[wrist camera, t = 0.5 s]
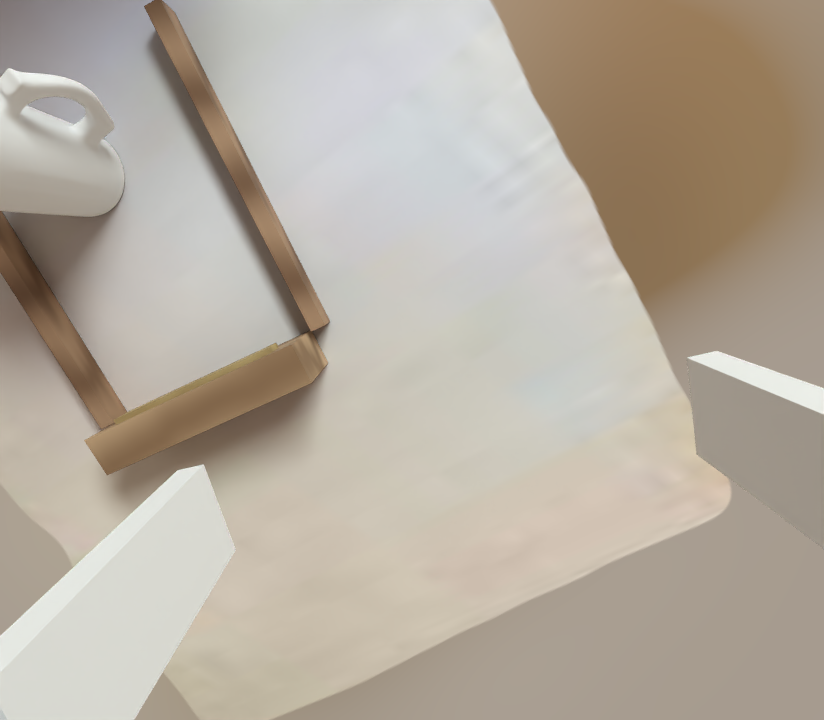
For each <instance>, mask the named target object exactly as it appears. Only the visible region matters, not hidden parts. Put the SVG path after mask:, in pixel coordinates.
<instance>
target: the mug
mask: <svg viewBox="0 0 824 720" xmlns="http://www.w3.org/2000/svg"><path fill="white" fill-rule="evenodd" d="M46 97H65V98H69V99H72V100H74V101H76V102H78V103H79V104H81V105H82V106H83V107H84V108H85V115H84V117H83V118H82V119H81V120H80V121H78V122H77V123H76V124H72V123H70V122H67V121H65V120H62V119H60V118H57V117H54V116H52V115H49V114H47V113H44V112H42V111H39V110H37V109H34V108H32V107H29V106H27V105H28V104H29V103H31V102H32V101H35V100H38V99H41V98H46ZM113 129H114V122H113V120H112V119H111V117H110V116H109V114H108V113H107V111H106V109H105V108H104V106H103V105H102V103H101V102H100V100H99V99H98V98H97V96H96V95H95V94H94V93H93V92H92V91H91V90H90V89H88V88H87V87H86V86H84V85H83V84H81V83H79V82H77V81H74V80H72V79H69V78H65V77H61V76H56V75H50V74H41V73H27V72H20V71H16V70H13V69H11V68H8V69H7V70H6V71H5V73H4V74H3V75H2V76H1V77H0V211H7V212H22V213H36V214H49V215H64V216H82V217H94V216H99V215H102V214H105V213H107V212H108V211H110V210H111V209H112V208H114V207H115V205H116V204H117V203H118V202H119V200H120V198H121V196H122V193H123V190H124V183H125V177H124V170H123V166H122V163H121V160H120V158H119V156H118V155H117V153H116V151H115V150H114V149H113V147H112V146H111V145H110V144H109V143H108V142H107V141H106V140H104V139H103V138H104V137H105V136H106V135H107V134H109V133H110V132H111V131H112V130H113Z"/></svg>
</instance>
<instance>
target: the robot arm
mask: <svg viewBox="0 0 824 720" xmlns="http://www.w3.org/2000/svg"><path fill="white" fill-rule="evenodd" d="M687 366H688V376H689V385H690V395H691V405H692V414H693V424H694V433H695V443H696V453H697V455H698V456H699V457H701V458H702V459H703V460H705V461H706V462H708V463H709V464H710V465H712V466H713V467H714V468H716V469H717V470H718V471H720V472H721V473H722V474H724V475H725V476H726V477H728V478H729V479H730V480H732V481H733V482H734V483H736V484H737V485H738V486H740V487H741V488H742V489H744V490H745V491H747V492H748V493H749V494H751V495H752V496H753V497H754V498H756V499H757V500H758V501H760V502H761V503H763V504H764V505H765V506H767V507H768V508H769V509H770V510H772V511H773V512H775V513H776V514H777V515H779V516H780V517H781V518H783V519H784V520H785V521H787V522H788V523H789V524H791V525H792V526H793V527H795V528H796V529H797V530H799V531H800V532H801V533H803V534H804V535H805V536H807V537H808V538H809V539H811V540H812V541H813V542H815V543H816V544H818V545H819V546H820V547H822V548H823V549H824V388H821V387H818V386H815V385H813V384H810V383H807V382H804V381H801V380H798V379H795V378H792V377H790V376H787V375H784V374H781V373H778V372H775V371H773V370H770V369H767V368H764V367H761V366H758V365H755V364H753V363H750V362H747V361H744V360H741V359H738V358H736V357H733V356H730V355H727V354H724V353H721V352H718V351H715V352H710V353H706V354H701V355H697V356H692V357H688V358H687ZM235 550H236V549H235V547H234V544H233V541H232V539H231V536H230V533H229V531H228V528H227V525H226V522H225V520H224V517H223V514H222V512H221V509H220V506H219V504H218V501H217V498H216V496H215V493H214V490H213V488H212V485H211V482H210V480H209V477H208V474H207V472H206V469H205V466H204V464H203V465H199V466H194V467H190V468H185V469H181V470H177V471H176V472H175V473H174V474H173V475H172V476H171V477H170V478H169V479H168V480H167V481H166V482H164V483H163V484H162V485H161V486H160V487H159V488H158V489H157V490H156V491H155V492H154V493H153V494H152V495H151V496H149V497H148V498H147V499H146V500H145V501H144V502H143V503H142V504H141V505H140V506H139V507H138V508H137V509H136V510H134V511H133V512H132V513H131V514H130V515H129V516H128V517H127V518H126V519H125V520H124V521H123V522H122V523H121V524H119V525H118V526H117V527H116V528H115V529H114V530H113V531H112V532H111V533H110V534H109V535H108V536H107V537H106V538H105V539H103V540H102V541H101V542H100V543H99V544H98V545H97V546H96V547H95V548H94V549H93V550H92V551H91V552H90V553H88V554H87V555H86V556H85V557H84V558H83V559H82V560H81V561H80V562H79V563H78V564H77V565H76V566H75V567H73V568H72V569H71V570H70V571H69V572H68V573H67V574H66V575H65V576H64V577H63V578H62V579H61V580H60V581H59V582H58V583H56V584H55V585H54V586H53V587H52V588H51V589H50V590H49V591H48V592H47V593H46V594H45V595H43V597H42V598H40V599H39V600H38V601H37V602H36V603H35V604H34V605H33V606H32V607H31V608H30V609H29V610H27V611H26V612H25V613H24V614H23V615H22V616H21V617H20V618H19V619H18V620H17V621H16V622H15V623H14V624H12V625H11V626H10V627H9V628H8V629H7V630H6V631H5V632H4V633H3V634H2V635H1V636H0V720H134V719H135V717H136V716H137V714H138V712H139V711H140V709H141V707H142V706H143V704H144V702H145V701H146V699H147V697H148V696H149V694H150V692H151V690H152V689H153V687H154V686H155V684H156V682H157V681H158V679H159V677H160V676H161V674H162V672H163V671H164V669H165V667H166V666H167V664H168V662H169V661H170V659H171V657H172V656H173V654H174V652H175V651H176V649H177V647H178V646H179V644H180V642H181V641H182V639H183V637H184V636H185V634H186V632H187V631H188V629H189V627H190V626H191V624H192V622H193V621H194V619H195V617H196V616H197V614H198V612H199V611H200V609H201V607H202V605H203V604H204V602H205V600H206V599H207V597H208V595H209V594H210V592H211V590H212V589H213V587H214V585H215V584H216V582H217V580H218V579H219V577H220V575H221V574H222V572H223V570H224V569H225V567H226V565H227V564H228V562H229V560H230V559H231V557H232V555H233V554H234V552H235Z"/></svg>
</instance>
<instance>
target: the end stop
mask: <svg viewBox="0 0 824 720" xmlns="http://www.w3.org/2000/svg"><path fill="white" fill-rule="evenodd" d="M327 364H328V362H327V360H326V358H325V356H324V354H323V352H322V350H321V348H320V346H319V344H318V342H317V340H316V338H315V336H314V334H313V332H312V331H311V330H310V331H308V332H306V333H304V334H302V335H300V336H297V337H295V338H293V339H291V340H289V341H287V342H284V343H282V344H280V345H277V344H276V343H275V344H273V345H270V346H268V347H266V348H264V349H262V350H260V351H257V352H255V353H253V354H251V355H249V356H247V357H245V358H242V359H240V360H238V361H236V362H234V363H232V364H230V365H227V366H225V367H223V368H221V369H219V370H217V371H215V372H212V373H210V374H208V375H206V376H204V377H202V378H200V379H197V380H195V381H193V382H191V383H189V384H187V385H185V386H182V387H180V388H178V389H176V390H174V391H172V392H170V393H167V394H165V395H163V396H161V397H159V398H157V399H154V400H152V401H150V402H148V403H146V404H144V405H142V406H139V407H137V408H135V409H133V410H131V411H129V412H127V413H125V414H123V415H122V416H120V417H118V418H116V419H114V422H115V423H114V424H113V425H111V426H109V427H107V428H106V429H104V430H102V431H100V432H99V433H97V434H95V435H93V436H91V437H90V438H88V439H86V440H84V441H85V442H86V444H87V445H88V447H89V448H90V450H91V451H92V453H93V454H94V456H95V457H96V459H97V461H98V462H99V464H100V465H101V467H102V468H103V470H104V471H105V473H106V474H107V475H109V474H111V473H113V472H115V471H118V470H120V469H122V468H124V467H127V466H129V465H131V464H133V463H135V462H138V461H140V460H142V459H144V458H146V457H149V456H151V455H153V454H155V453H158V452H160V451H162V450H164V449H166V448H169V447H171V446H173V445H175V444H178V443H180V442H182V441H184V440H186V439H189V438H191V437H193V436H195V435H197V434H200V433H202V432H204V431H206V430H209V429H211V428H213V427H215V426H217V425H220V424H222V423H224V422H226V421H229V420H231V419H233V418H235V417H237V416H240V415H242V414H244V413H246V412H248V411H251V410H253V409H255V408H257V407H260V406H262V405H264V404H266V403H268V402H271V401H273V400H275V399H277V398H279V397H282V396H284V395H286V394H288V393H291V392H293V391H295V390H297V389H299V388H302V387H304V386H306V385H308V384H311V383H312V382H313V381H314V380H315V378H316V377H317V376H318V375H319V373H320V372H321V371H322V370H323V369H324V367H325V366H326V365H327Z"/></svg>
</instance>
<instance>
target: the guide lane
mask: <svg viewBox="0 0 824 720" xmlns="http://www.w3.org/2000/svg"><path fill="white" fill-rule="evenodd" d="M144 7H145V9H146V11H147V13H148V15H149V17H150V19H151V21H152V23H153V25H154V27H155V29H156V31H157V33H158V35H159V37H160V39H161V40H162V42H163V44H164V46H165V48H166V50H167V52H168V54H169V56H170V58H171V60H172V62H173V64H174V66H175V68H176V70H177V72H178V74H179V76H180V77H181V79H182V81H183V83H184V85H185V87H186V89H187V91H188V93H189V95H190V97H191V99H192V101H193V103H194V105H195V107H196V109H197V111H198V112H199V114H200V116H201V118H202V120H203V122H204V124H205V126H206V128H207V130H208V132H209V134H210V136H211V138H212V140H213V142H214V144H215V146H216V147H217V149H218V151H219V153H220V155H221V157H222V159H223V161H224V163H225V165H226V167H227V169H228V171H229V173H230V175H231V177H232V179H233V181H234V183H235V184H236V186H237V188H238V190H239V192H240V194H241V196H242V198H243V200H244V202H245V204H246V206H247V208H248V210H249V212H250V214H251V216H252V218H253V219H254V221H255V223H256V225H257V227H258V229H259V231H260V233H261V235H262V237H263V239H264V241H265V243H266V245H267V247H268V249H269V251H270V253H271V254H272V256H273V258H274V260H275V262H276V264H277V266H278V268H279V270H280V272H281V274H282V276H283V278H284V280H285V282H286V284H287V286H288V288H289V290H290V291H291V293H292V295H293V297H294V299H295V301H296V303H297V305H298V307H299V309H300V311H301V313H302V315H303V317H304V319H305V321H306V323H307V325H308V326H309V328H310V330H311V331H314V330H316V329H318V328H320V327H322V326H324V325H326V324H327V323H328V322H330V320H329V318H328V316H327V314H326V312H325V310H324V308H323V306H322V304H321V302H320V301H319V299H318V297H317V295H316V293H315V291H314V289H313V287H312V285H311V283H310V281H309V279H308V277H307V275H306V273H305V271H304V269H303V267H302V265H301V263H300V261H299V259H298V257H297V255H296V253H295V251H294V249H293V247H292V245H291V243H290V241H289V239H288V237H287V235H286V233H285V231H284V229H283V227H282V225H281V223H280V221H279V219H278V217H277V215H276V213H275V211H274V209H273V207H272V205H271V203H270V201H269V199H268V197H267V195H266V193H265V191H264V189H263V187H262V185H261V183H260V181H259V179H258V177H257V175H256V173H255V171H254V169H253V167H252V165H251V163H250V161H249V159H248V157H247V155H246V153H245V151H244V149H243V147H242V145H241V143H240V141H239V139H238V137H237V135H236V133H235V131H234V129H233V127H232V125H231V123H230V121H229V119H228V117H227V115H226V113H225V111H224V109H223V108H222V106H221V104H220V102H219V100H218V98H217V96H216V94H215V92H214V90H213V88H212V86H211V84H210V82H209V80H208V78H207V76H206V74H205V72H204V70H203V68H202V66H201V64H200V62H199V60H198V58H197V56H196V54H195V52H194V50H193V48H192V46H191V44H190V42H189V40H188V38H187V36H186V34H185V32H184V30H183V28H182V26H181V24H180V22H179V20H178V18H177V16H176V14H175V12H174V11H173V10H172V9H171V8H170V7H169V6H168V5H167V4H166V3H164V2H163V1H162V0H154V1H152V2H151V3H149V4H147V5H145V6H144ZM0 272H1V274H2V275H3V277H4V279H5V280H6V282H7V283H8V285H9V286H10V288H11V289H12V291H13V293H14V294H15V296H16V297H17V299H18V300H19V302H20V303H21V305H22V307H23V308H24V310H25V311H26V313H27V314H28V316H29V317H30V319H31V320H32V322H33V324H34V325H35V327H36V328H37V330H38V331H39V333H40V334H41V336H42V338H43V339H44V341H45V342H46V344H47V345H48V347H49V348H50V350H51V352H52V353H53V355H54V356H55V358H56V359H57V361H58V362H59V364H60V366H61V367H62V369H63V370H64V372H65V373H66V375H67V376H68V378H69V380H70V381H71V383H72V384H73V386H74V387H75V389H76V390H77V392H78V394H79V395H80V397H81V398H82V400H83V401H84V403H85V404H86V406H87V407H88V409H89V411H90V412H91V414H92V415H93V417H94V418H95V420H96V421H97V423H98V425H99V426H100V428H101V429H103V428H105V427H107V426H109V425H111V424H113V423H115V422H114V419H116V418H118V417H120V416H122V415H123V414H125V413H127V411H126V409H125V408H124V406H123V405H122V403H121V401H120V400H119V398H118V397H117V395H116V394H115V392H114V390H113V389H112V387H111V386H110V384H109V382H108V381H107V379H106V378H105V376H104V374H103V373H102V371H101V370H100V368H99V366H98V365H97V363H96V362H95V360H94V358H93V357H92V355H91V354H90V352H89V350H88V349H87V347H86V346H85V344H84V342H83V341H82V339H81V338H80V336H79V334H78V333H77V331H76V330H75V328H74V326H73V325H72V323H71V322H70V320H69V318H68V317H67V315H66V314H65V312H64V310H63V309H62V307H61V306H60V304H59V302H58V301H57V299H56V298H55V296H54V294H53V293H52V291H51V290H50V288H49V286H48V285H47V283H46V282H45V280H44V278H43V277H42V275H41V274H40V272H39V270H38V269H37V267H36V266H35V264H34V262H33V261H32V259H31V258H30V256H29V254H28V253H27V251H26V250H25V248H24V246H23V245H22V243H21V242H20V240H19V238H18V237H17V235H16V234H15V232H14V230H13V229H12V227H11V226H10V224H9V222H8V221H7V219H6V218H5V216H4V214H3V213H2V211H0Z"/></svg>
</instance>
